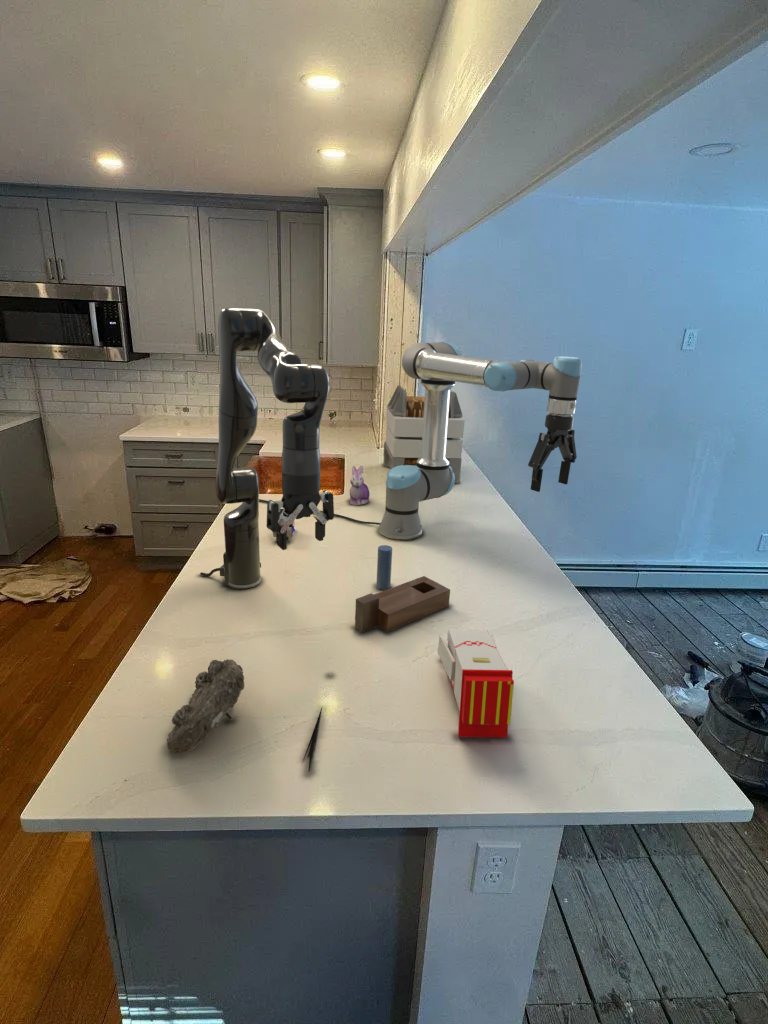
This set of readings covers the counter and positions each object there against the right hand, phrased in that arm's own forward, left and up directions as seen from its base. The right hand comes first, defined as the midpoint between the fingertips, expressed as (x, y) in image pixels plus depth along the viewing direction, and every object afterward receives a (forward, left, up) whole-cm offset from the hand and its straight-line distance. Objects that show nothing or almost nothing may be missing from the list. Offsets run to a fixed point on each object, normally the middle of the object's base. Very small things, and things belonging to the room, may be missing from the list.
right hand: (549, 486), depth 165 cm
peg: (-21, -45, -28) cm, 56 cm away
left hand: (-4, -83, +1) cm, 83 cm away
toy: (+26, -61, -28) cm, 72 cm away
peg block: (-7, -51, -28) cm, 58 cm away
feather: (+14, -90, -28) cm, 96 cm away
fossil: (+1, -106, -28) cm, 110 cm away
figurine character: (-69, -48, -28) cm, 88 cm away
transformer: (-101, +47, -28) cm, 114 cm away
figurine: (-83, -5, -28) cm, 87 cm away
